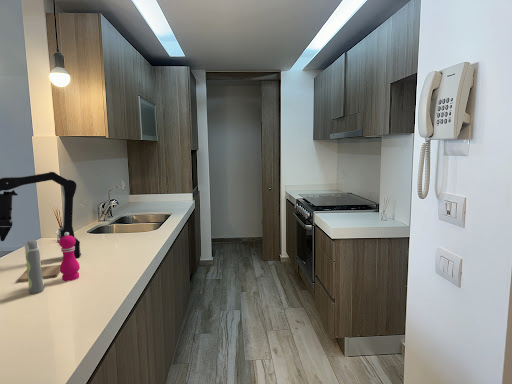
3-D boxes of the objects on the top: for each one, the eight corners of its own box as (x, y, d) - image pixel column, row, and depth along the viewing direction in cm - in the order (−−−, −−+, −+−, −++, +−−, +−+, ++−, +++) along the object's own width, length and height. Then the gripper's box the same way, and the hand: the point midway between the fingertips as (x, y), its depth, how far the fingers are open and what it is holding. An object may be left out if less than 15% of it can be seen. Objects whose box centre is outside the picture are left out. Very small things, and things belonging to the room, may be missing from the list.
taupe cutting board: (63, 266, 152) (62, 264, 152) (56, 277, 139) (56, 274, 139) (27, 271, 147) (27, 268, 147) (17, 282, 134) (17, 279, 134)
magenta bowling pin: (76, 273, 143) (72, 229, 140) (83, 277, 138) (79, 231, 136) (58, 279, 137) (53, 232, 135) (65, 283, 133) (60, 235, 130)
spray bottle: (41, 287, 128) (36, 238, 126) (46, 291, 125) (40, 240, 123) (27, 292, 124) (21, 241, 122) (31, 295, 121) (25, 243, 119)
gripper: (-19, 202, 150) (-21, 235, 150) (-20, 207, 135) (-23, 244, 136) (11, 202, 157) (10, 235, 157) (13, 207, 142) (11, 242, 143)
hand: (2, 239), depth 148 cm, fingers open, 9 cm apart
